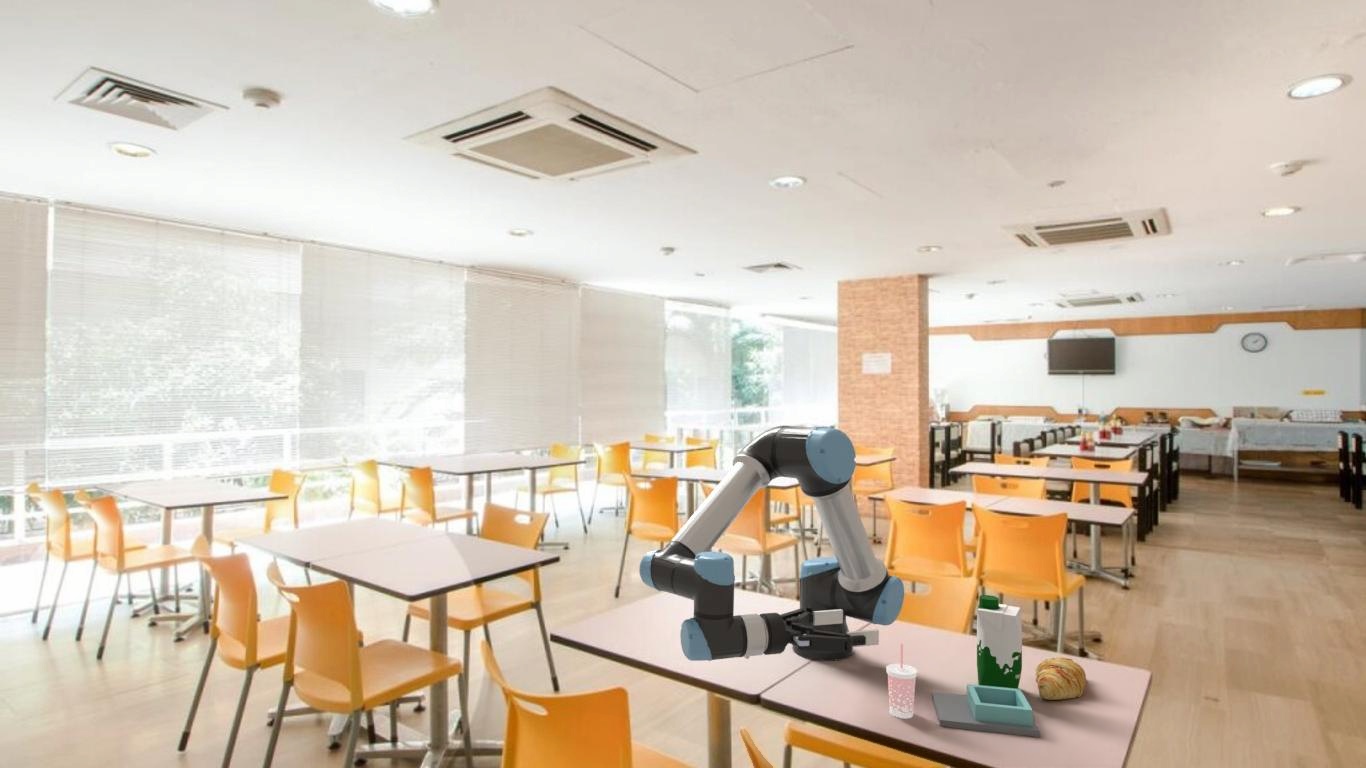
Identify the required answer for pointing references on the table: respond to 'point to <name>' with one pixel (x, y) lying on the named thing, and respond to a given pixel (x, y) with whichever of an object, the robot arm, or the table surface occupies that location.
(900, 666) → the beverage cup
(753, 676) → the table surface
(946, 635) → the table surface
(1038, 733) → the dock
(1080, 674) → the croissant
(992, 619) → the milk carton
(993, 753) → the table surface
